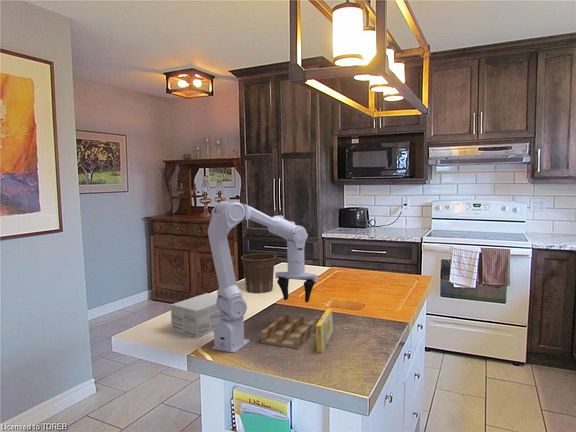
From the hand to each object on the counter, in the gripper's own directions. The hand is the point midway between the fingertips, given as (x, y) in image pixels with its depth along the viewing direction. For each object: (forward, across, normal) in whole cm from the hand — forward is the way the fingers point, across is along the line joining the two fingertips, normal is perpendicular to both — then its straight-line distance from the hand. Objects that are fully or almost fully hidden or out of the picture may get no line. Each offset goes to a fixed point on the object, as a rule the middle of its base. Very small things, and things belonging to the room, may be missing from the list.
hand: (296, 300), depth 136 cm
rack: (+10, 0, +6) cm, 11 cm away
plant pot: (+10, +34, -40) cm, 53 cm away
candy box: (+10, -12, +8) cm, 18 cm away
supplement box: (+10, +32, +9) cm, 35 cm away
